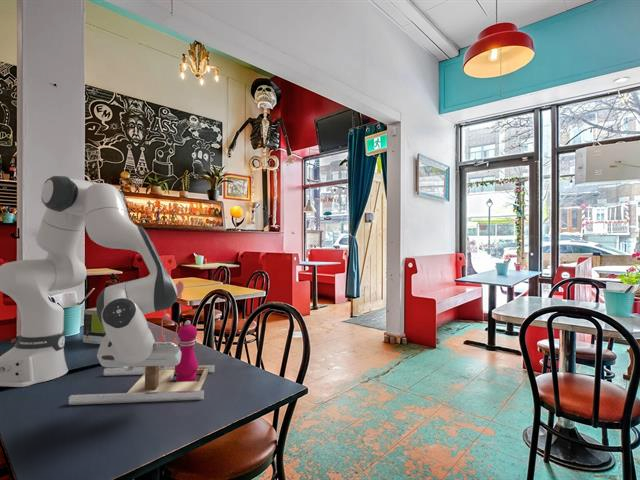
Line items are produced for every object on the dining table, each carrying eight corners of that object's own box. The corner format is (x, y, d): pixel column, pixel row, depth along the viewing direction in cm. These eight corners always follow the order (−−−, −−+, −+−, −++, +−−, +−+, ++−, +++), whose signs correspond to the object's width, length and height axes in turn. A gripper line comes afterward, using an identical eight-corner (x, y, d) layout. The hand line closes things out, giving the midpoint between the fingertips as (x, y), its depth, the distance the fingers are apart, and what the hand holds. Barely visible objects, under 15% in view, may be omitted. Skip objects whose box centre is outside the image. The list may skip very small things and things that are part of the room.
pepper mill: (189, 386, 109) (191, 323, 109) (169, 383, 111) (171, 322, 111) (201, 377, 116) (203, 318, 116) (182, 375, 118) (184, 317, 118)
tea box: (128, 339, 156) (129, 307, 156) (110, 346, 146) (111, 311, 147) (101, 336, 160) (102, 305, 160) (81, 342, 150) (83, 309, 150)
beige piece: (124, 400, 99) (125, 363, 99) (147, 374, 117) (148, 343, 117) (196, 397, 102) (197, 361, 102) (207, 372, 120) (208, 342, 120)
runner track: (68, 404, 95) (68, 396, 95) (105, 374, 117) (105, 367, 117) (203, 399, 101) (203, 391, 101) (214, 371, 122) (214, 365, 122)
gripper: (179, 333, 94) (186, 357, 103) (98, 334, 91) (114, 358, 100) (174, 355, 89) (182, 377, 99) (89, 356, 86) (106, 379, 96)
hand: (147, 368), depth 100 cm, fingers open, 8 cm apart
